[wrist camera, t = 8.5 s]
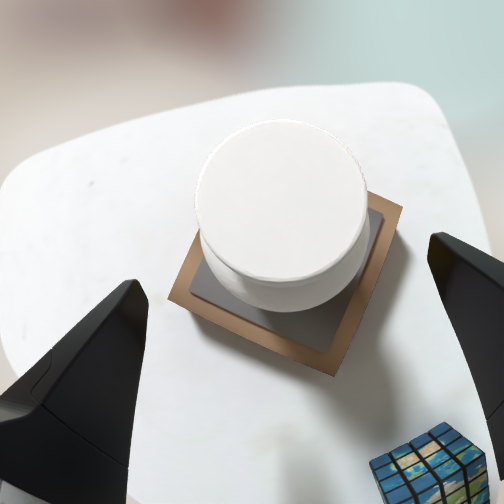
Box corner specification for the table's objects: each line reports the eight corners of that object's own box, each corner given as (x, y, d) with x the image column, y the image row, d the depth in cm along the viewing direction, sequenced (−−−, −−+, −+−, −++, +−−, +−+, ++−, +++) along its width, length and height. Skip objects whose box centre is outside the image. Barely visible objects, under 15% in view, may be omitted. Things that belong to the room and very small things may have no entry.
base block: (328, 366, 18) (335, 378, 15) (183, 299, 20) (165, 299, 17) (389, 218, 19) (404, 205, 16) (248, 161, 21) (241, 140, 18)
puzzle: (457, 475, 15) (491, 511, 9) (387, 512, 16) (406, 559, 10) (444, 420, 16) (486, 451, 10) (367, 460, 17) (388, 508, 11)
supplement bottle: (360, 251, 16) (439, 186, 6) (292, 330, 16) (291, 370, 6) (283, 186, 17) (268, 64, 8) (215, 260, 17) (123, 209, 7)
